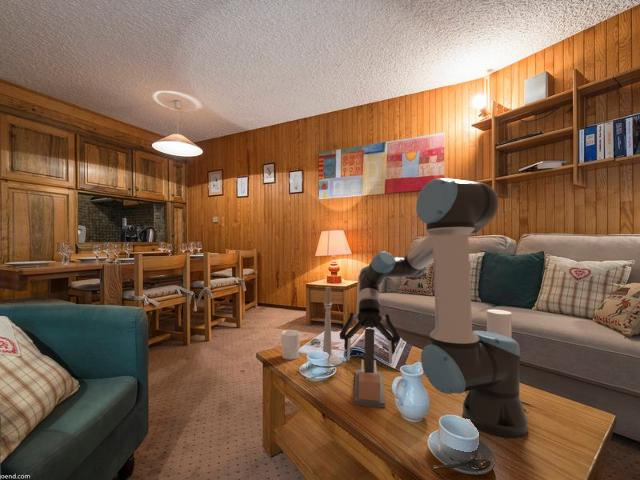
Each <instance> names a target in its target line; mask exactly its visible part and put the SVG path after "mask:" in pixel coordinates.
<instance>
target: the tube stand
mask: <svg viewBox="0 0 640 480" xmlns="http://www.w3.org/2000/svg"><path fill="white" fill-rule="evenodd" d="M364 367H365V359H361V367H360V368H361V369H355V378H354V379H355V380H354V381H355V383H354V394H353V405H355V406H364V407H365V406H366V407H378V408H386V400H385V392H384V384H383V377H382V375H383V374H382V371H377V360H376V359H374V373H367V372H364Z"/></svg>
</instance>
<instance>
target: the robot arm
mask: <svg viewBox="0 0 640 480" xmlns="http://www.w3.org/2000/svg"><path fill="white" fill-rule="evenodd" d="M415 207H416V210H415V211H416V215H417V217H418V218H419V221H422V222H423V223H425V225H426V227H425V228H426V233H427V234H429V235H428V236H427V237H426V238H424V239H423V240H422V241H421V242H420V243H419V244H418V245H416V246H415V247H414V248H413V249H412V250H410V252H409V253H408V254H405V256H401V257H400V256H393V255H392V254H391V253H390V252H387V251H383V250H382V251H379V252H378V253H376V255H375V256H374V257H373V258H372V259H371V262H370V264H369V265H366V266H364V267H362V268H361V269H360V271H359V276H358V277H359V281H358V282H359V286H358V287H359V289H358V290H359V292H358V313H357V314H354V313H353V312H350V313H349V317H348V319H347V321H346V323H345V324H344V326H343V327H342V329H341V331H340V332H339V339H340V340H343V341H344V342H343V343H344V344H343V345H344V348H343V349H344V350H345V351H346V350H347V351H346V352H347V354H346V355H347V356H346V359H347V361H348V362H350V360H351V344H352V343H351V339H352V338H353V336H354V335H355V334H357V332H358V331H359V330H361V329H362V328H363V327H364V328H365V329H374V328H376V329H377V331H379V332H380V334H382V335H383V336H384V338H385V339H386V340H387V341H388V344H387V345H388V364H389V365H392V363H393V354H394V353H395V351H396V343H400V340H401V337H400V335H399V333H398V332H397V330H396V328H395V326H394V325H393V323H392V322H391V319H390V315H389V313H387V314H385V315H381V307H380V306H381V305H380V285H381V284H382V283H383V282H384V280H385V279H386V278H415V277H421V276H422V275H424V274H425V271H426V269H427V266H428V265H429V264H431V263H432V262H433V281H434V282H433V283H434V285H433V286H434V310H435V311H434V313H435V314H434V315H435V316H434V317H435V328H434V329H433V330H432V331H430V333H429V344H427V345H425V346H424V347H423V348H422V350H421V353H420V363H421V367H422V370H423V372H424V375H425V376H426V378H427V380H428V382H429V383H430V384H431V386H432V387H433V388H434V389H436V390H437V391H438V392H440V393H442V394H446V395H452V394H458V395H459V394H460V395H461V394H463V393H464V392H466V395H465V398H464V400H463V403H462V416H463V418H464V419H465V418H467V419H470V420H471V422H472V423H473V424H474V425H475V426H476V427H477V429H479V430H481V431H482V432H485V433H488V434H491V435H494V436H497V437H502V438H519V437H522V436H525V435H526V434H527V432H528V419H527V418H528V417H527V416H526V415H527V414H526V412H525V410H524V406H523V404H522V401H521V398H520V386H521V385H520V382H521V381H520V377H521V375H520V371H521V370H520V369H521V363H520V362H521V357H522V356H521V352H520V344H519V343H518V342H517V340H515V339H514V338H512V337H511V338H509V337H507V336H503V335H500V334H496V333H491V332H487V330H486V331H485V330H484V331H483V330H473V322H472V321H473V320H472V319H473V318H472V316H473V315H472V295H471V292H472V291H471V290H472V289H471V272H470V271H471V269H470V267H471V266H470V247H469V246H470V245H469V236H470V235H474V234H477V233H478V232H480V231H481V230H483V229H484V228H485V227H486V226H488V225H489V224H490V222H492V220H493V219H494V218H495V217H496V215H497V213H498V209H499V199H498V195H497V193H496V191H495V190H494V189H493V188H492V187H491V186H490V185H488V184H486V183H484V182H480V181H471V180H464V179H463V180H462V179H456V178H455V179H454V178H449V177H446V178H434V179H431V180H430V181H428V182H426V184H425V185H424V186H423V187H422V189H421V190H420V191H419V193H418V197H417V200H416V205H415ZM356 320H357V323H355V325H353V323H354V322H355V321H356ZM381 321H383V323H385V325H386V327H387V328H385V327H384V325H383V323H382V322H381ZM352 325H353V327H352ZM351 327H352V328H351ZM350 328H351V329H350ZM387 329H388V330H387ZM475 426H474V427H475ZM476 427H475V428H476Z"/></svg>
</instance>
